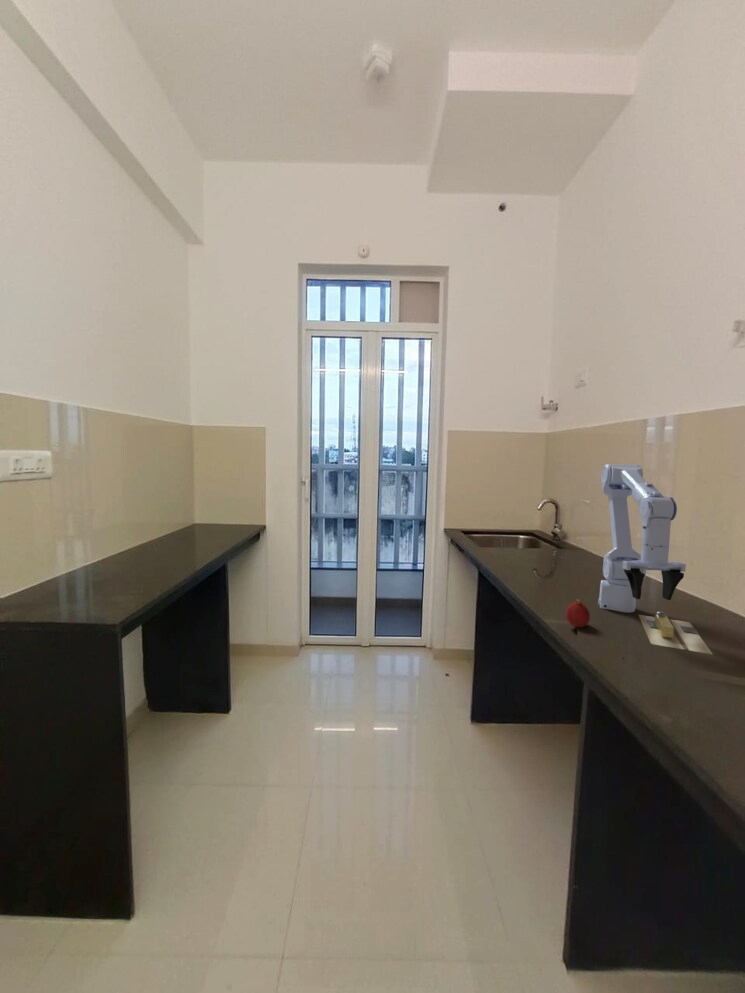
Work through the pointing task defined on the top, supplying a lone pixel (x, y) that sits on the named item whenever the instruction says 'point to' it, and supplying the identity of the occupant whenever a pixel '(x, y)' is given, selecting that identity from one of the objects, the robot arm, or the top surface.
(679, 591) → the top surface
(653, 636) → the door board
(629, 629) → the top surface
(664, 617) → the swing bar
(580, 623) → the onion
